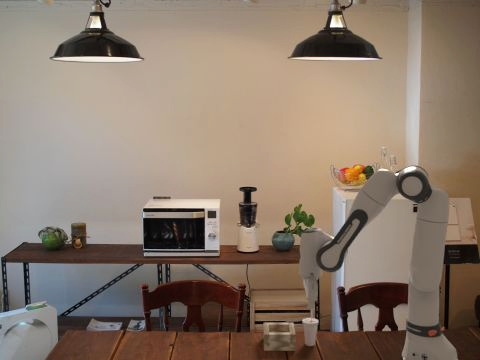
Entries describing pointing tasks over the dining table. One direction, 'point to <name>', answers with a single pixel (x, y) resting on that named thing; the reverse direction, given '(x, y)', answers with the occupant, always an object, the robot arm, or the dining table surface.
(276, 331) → the box
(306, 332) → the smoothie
